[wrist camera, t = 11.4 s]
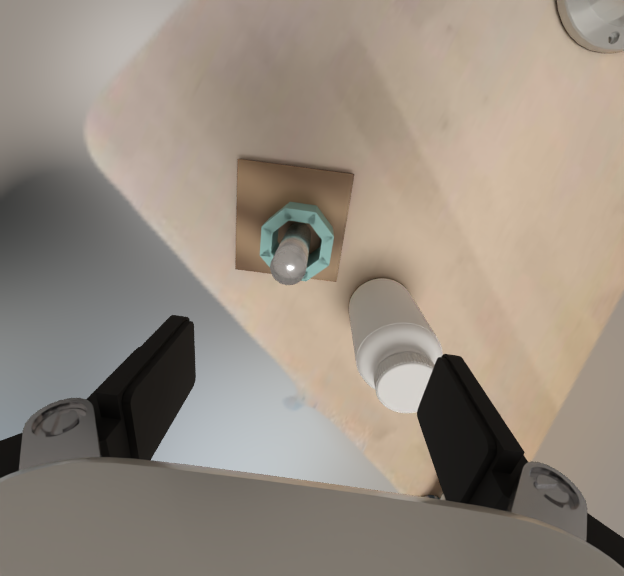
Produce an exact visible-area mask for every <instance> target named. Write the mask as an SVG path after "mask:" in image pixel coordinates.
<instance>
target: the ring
mask: <svg viewBox="0 0 624 576" xmlns="http://www.w3.org/2000/svg"><path fill="white" fill-rule="evenodd" d="M287 221H296V222H303V223H309V224H310V225H311V226H312V227H313V229H314V230H315V231H316V233H317V234H318V235H319V237H320V238H321V240H320V247H319V248H318V249H316V250H315V251H314V252H312V253H311V254H309V255H308V261H307V267H306V273H305V276H304V277H303V279H302V280H301V281H307V280H309V279H310V278H312V277H313V276H315V275H316V274H317V273H319V272H320V271H322V270H323V269H325V268H326V267H327V266H329V264H330V258H331V252H332V246H333V240H334V234H333V227H332V226H331V224H330V223H329V222H328V220H327V219H326V217H325V216H324V215H323V213H322V212H321V211H320V209H319V208H318V207H317V206H316V205H310V204H303V203H296V202H289V203H288V204H286V205H285V206H284V207H283V208H281V209H280V210H279V211H278V212H276V213H275V214H274V215H273V216H271V217H270V218H269V219H268V220H267V221H266V222H265V223H264V225H263V226H262V228H261V242H260V257H261V258H262V259H263V260H264V261H265V262H266V264H267V265H268V266H269V267H270V264H271V261H272V259H273V257H274V255H275V253H276V251H277V249H278V247H279V245H280V244H279V243H278V241H277V240H278V229H279V228H280V227H281V226H282V225H283V224H285V223H286V222H287Z"/></svg>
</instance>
